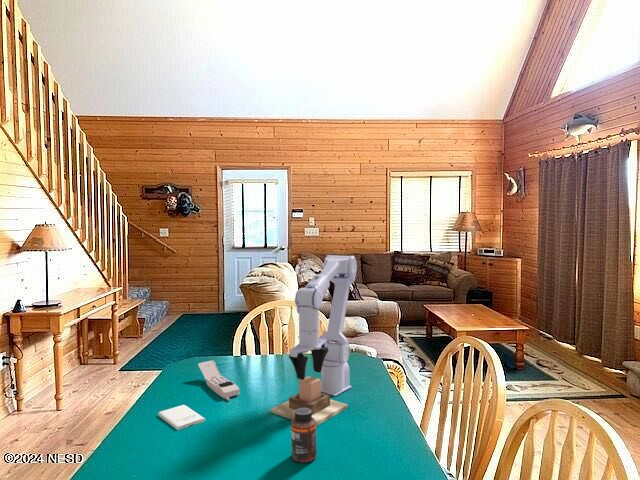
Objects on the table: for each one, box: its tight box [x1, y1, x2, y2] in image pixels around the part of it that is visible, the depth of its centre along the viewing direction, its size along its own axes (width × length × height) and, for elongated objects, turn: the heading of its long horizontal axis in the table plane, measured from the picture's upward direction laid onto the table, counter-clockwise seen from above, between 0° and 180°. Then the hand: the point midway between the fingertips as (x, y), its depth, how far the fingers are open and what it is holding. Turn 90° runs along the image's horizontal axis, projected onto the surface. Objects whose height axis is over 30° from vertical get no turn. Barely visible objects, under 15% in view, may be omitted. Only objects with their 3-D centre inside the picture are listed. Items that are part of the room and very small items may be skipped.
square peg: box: [298, 376, 322, 403], centre depth 141 cm, size 4×4×8 cm
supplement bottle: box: [290, 408, 318, 463], centre depth 114 cm, size 6×6×11 cm
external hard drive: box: [157, 404, 206, 431], centre depth 137 cm, size 2×8×12 cm
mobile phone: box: [197, 359, 240, 402], centre depth 160 cm, size 6×6×25 cm
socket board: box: [270, 392, 349, 427], centre depth 141 cm, size 16×16×4 cm
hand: (309, 375), depth 141 cm, fingers open, 7 cm apart
